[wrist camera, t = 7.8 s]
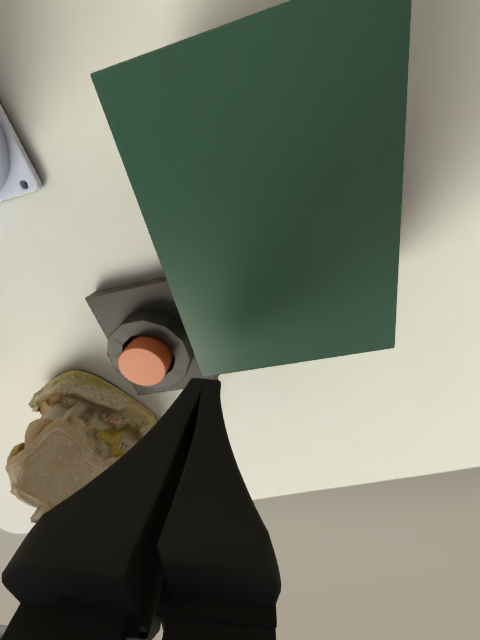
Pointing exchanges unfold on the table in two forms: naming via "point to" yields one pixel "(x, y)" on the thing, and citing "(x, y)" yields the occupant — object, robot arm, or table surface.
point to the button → (145, 360)
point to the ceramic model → (73, 438)
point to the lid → (273, 177)
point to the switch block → (146, 328)
